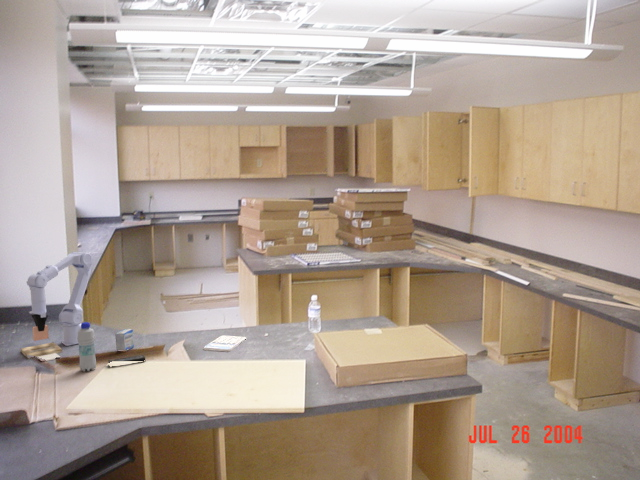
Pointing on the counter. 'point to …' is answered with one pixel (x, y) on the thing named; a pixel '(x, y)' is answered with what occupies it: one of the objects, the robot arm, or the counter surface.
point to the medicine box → (124, 339)
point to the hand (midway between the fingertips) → (40, 330)
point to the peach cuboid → (40, 333)
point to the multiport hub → (130, 358)
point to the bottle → (86, 347)
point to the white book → (224, 343)
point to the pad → (49, 356)
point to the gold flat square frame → (41, 350)
